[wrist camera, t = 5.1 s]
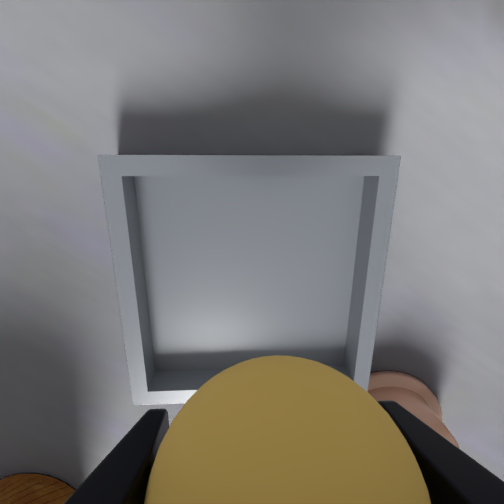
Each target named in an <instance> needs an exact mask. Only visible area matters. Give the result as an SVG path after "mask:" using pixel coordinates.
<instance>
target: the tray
mask: <svg viewBox="0 0 504 504" xmlns="http://www.w3.org/2000/svg"><path fill="white" fill-rule="evenodd" d="M98 160H99V167H100V175H101V182H102V189H103V196H104V203H105V210H106V217H107V224H108V231H109V238H110V245H111V252H112V259H113V266H114V273H115V280H116V287H117V294H118V302H119V309H120V316H121V323H122V330H123V337H124V344H125V351H126V358H127V365H128V372H129V379H130V386H131V393H132V400H133V405H154V404H179V403H186V402H187V400H188V399H189V398H190V397H191V396H192V395H193V394H194V393H195V392H196V391H197V390H198V389H199V388H200V387H201V386H202V385H204V384H205V383H206V382H207V381H209V380H210V379H211V378H212V377H214V376H215V375H217V374H219V373H220V372H222V371H224V370H225V369H227V368H229V367H231V366H234V365H236V364H238V363H240V362H243V361H247V360H250V359H253V358H258V357H263V356H274V355H280V356H293V357H300V358H305V359H309V360H313V361H317V362H319V363H322V364H324V365H327V366H329V367H331V368H333V369H335V370H337V371H339V372H340V373H342V374H344V375H346V376H347V377H349V378H350V379H352V380H353V381H354V382H355V383H357V384H358V385H359V386H361V387H362V388H363V389H364V390H366V391H367V392H368V385H369V378H370V371H371V364H372V357H373V350H374V343H375V336H376V328H377V321H378V314H379V307H380V300H381V293H382V286H383V279H384V272H385V265H386V258H387V251H388V244H389V237H390V230H391V223H392V216H393V209H394V202H395V195H396V188H397V181H398V174H399V167H400V160H401V156H325V155H98Z"/></svg>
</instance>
